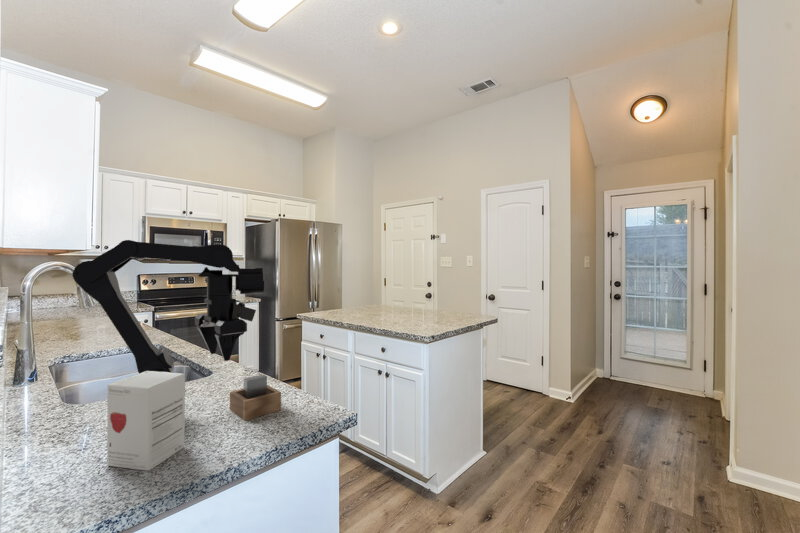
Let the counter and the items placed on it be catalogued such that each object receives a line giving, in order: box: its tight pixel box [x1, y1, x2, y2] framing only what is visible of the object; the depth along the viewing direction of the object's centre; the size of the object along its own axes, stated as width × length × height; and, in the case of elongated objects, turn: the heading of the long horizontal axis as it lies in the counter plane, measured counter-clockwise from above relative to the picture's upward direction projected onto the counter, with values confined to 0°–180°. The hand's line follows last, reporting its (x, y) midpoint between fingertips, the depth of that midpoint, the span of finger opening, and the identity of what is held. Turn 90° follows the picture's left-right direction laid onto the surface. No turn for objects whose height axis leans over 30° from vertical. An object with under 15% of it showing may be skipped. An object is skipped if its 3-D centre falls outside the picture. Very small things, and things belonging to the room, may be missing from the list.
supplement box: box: [106, 371, 186, 472], centre depth 70 cm, size 9×9×15 cm
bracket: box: [243, 374, 268, 399], centre depth 92 cm, size 5×5×8 cm
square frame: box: [229, 384, 282, 422], centre depth 92 cm, size 9×9×4 cm
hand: (219, 357), depth 93 cm, fingers open, 9 cm apart
